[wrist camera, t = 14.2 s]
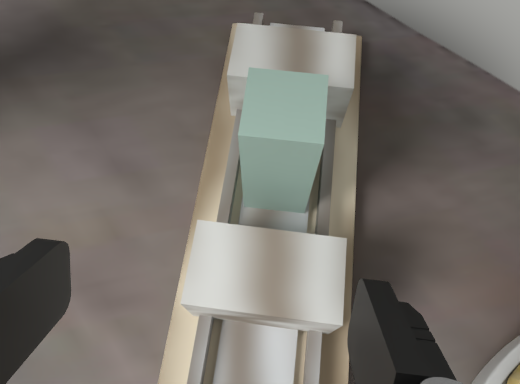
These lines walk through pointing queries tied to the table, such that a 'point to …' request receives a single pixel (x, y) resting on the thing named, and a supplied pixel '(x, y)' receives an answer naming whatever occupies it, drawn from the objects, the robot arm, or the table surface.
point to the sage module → (281, 137)
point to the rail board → (271, 234)
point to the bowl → (502, 366)
